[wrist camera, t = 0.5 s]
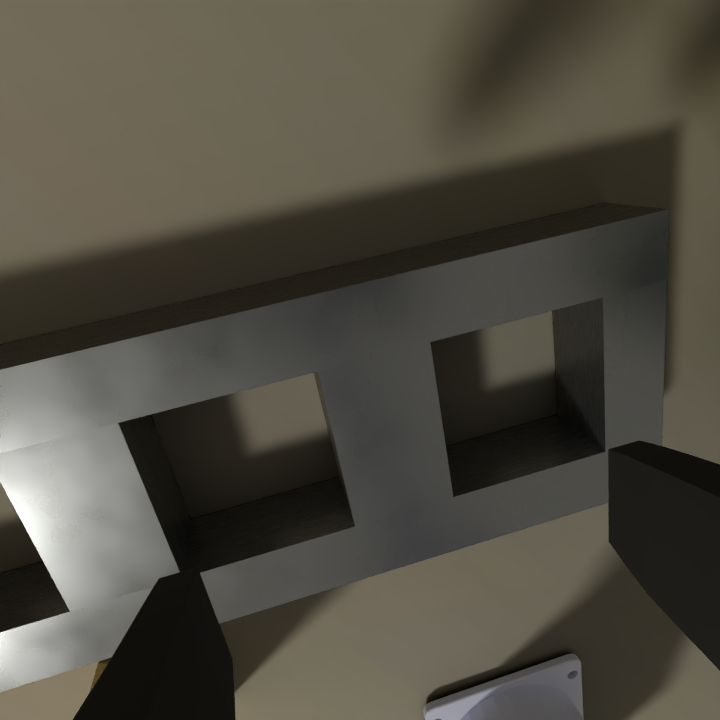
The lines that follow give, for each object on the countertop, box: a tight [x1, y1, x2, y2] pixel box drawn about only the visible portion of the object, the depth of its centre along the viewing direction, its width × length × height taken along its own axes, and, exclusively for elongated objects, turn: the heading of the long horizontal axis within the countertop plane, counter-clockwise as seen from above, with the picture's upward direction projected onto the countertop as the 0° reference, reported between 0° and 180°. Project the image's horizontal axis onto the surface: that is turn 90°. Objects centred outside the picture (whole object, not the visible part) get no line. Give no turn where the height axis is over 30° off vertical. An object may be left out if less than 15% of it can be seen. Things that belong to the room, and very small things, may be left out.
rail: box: [0, 203, 669, 692], centre depth 17 cm, size 10×28×3 cm, turn 100°
